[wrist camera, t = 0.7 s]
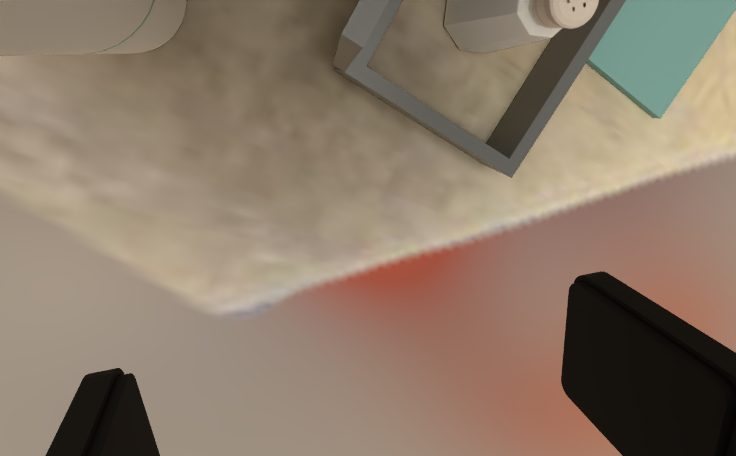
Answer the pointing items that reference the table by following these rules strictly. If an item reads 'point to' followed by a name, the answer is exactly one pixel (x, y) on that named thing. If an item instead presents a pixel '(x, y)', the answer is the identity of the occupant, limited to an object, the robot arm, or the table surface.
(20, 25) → the cylindrical container
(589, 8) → the salt shaker
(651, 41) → the pad
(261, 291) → the table surface
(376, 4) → the lid
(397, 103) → the case
